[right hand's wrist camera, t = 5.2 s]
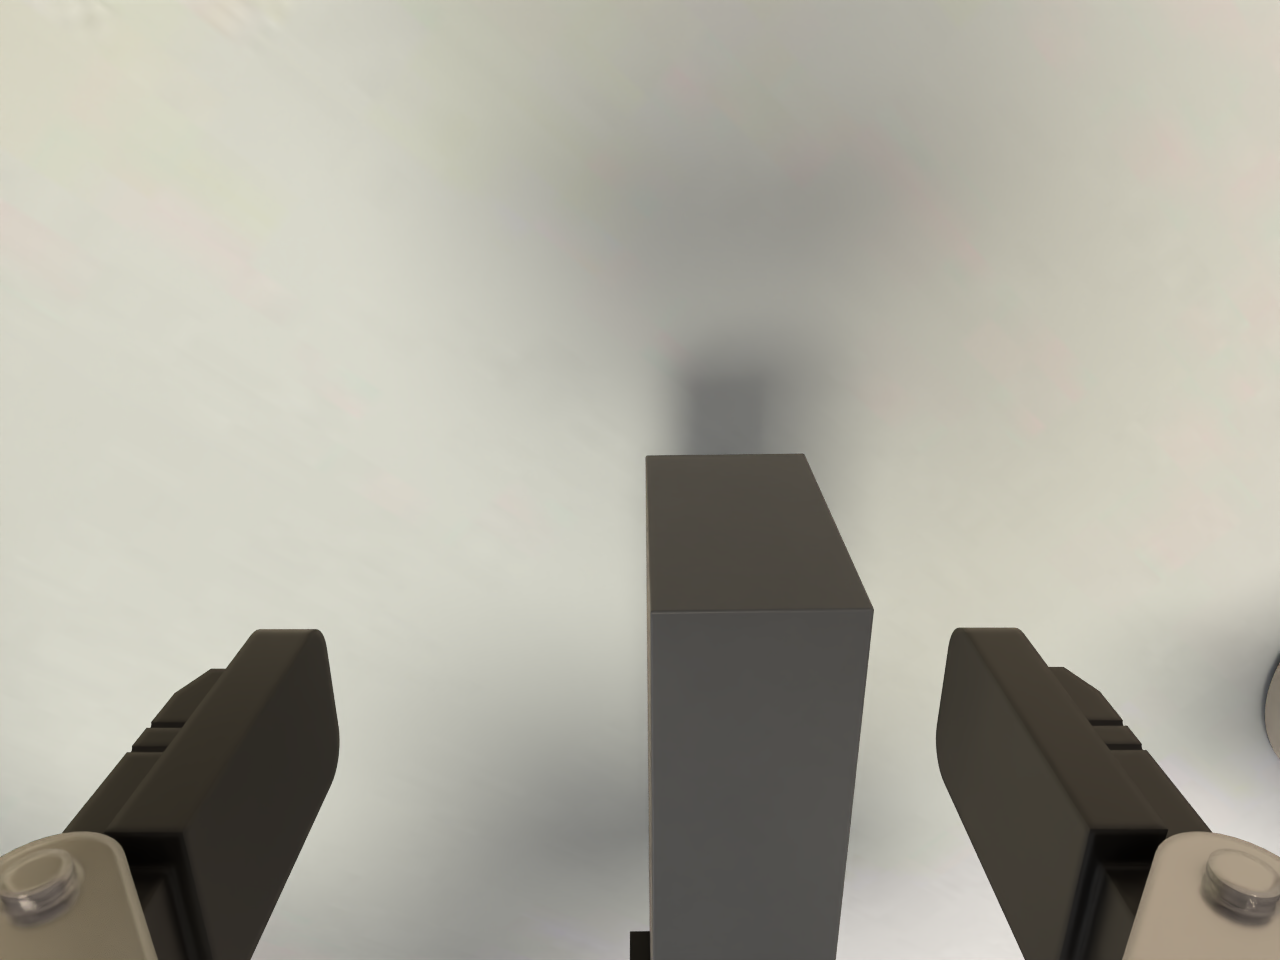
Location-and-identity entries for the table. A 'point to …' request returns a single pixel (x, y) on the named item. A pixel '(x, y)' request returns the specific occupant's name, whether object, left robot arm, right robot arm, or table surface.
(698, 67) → the table surface
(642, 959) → the left robot arm
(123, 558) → the table surface
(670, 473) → the bar
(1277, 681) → the bust sculpture
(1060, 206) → the table surface
